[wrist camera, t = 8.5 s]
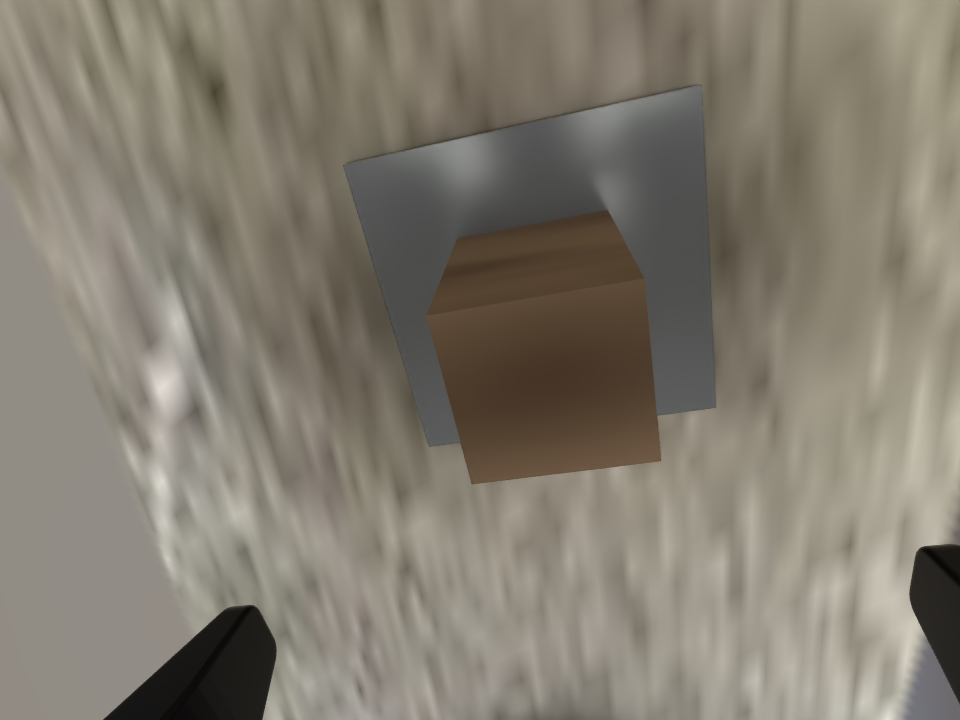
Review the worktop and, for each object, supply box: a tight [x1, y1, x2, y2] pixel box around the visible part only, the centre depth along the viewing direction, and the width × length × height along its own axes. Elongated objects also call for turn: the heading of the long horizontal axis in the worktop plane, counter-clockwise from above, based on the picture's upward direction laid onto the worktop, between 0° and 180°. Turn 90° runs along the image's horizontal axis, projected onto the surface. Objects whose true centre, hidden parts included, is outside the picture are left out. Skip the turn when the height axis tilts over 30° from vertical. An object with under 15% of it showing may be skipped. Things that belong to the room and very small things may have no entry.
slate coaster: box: [343, 85, 716, 447], centre depth 18 cm, size 10×10×1 cm
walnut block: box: [426, 210, 661, 484], centre depth 16 cm, size 4×4×6 cm
